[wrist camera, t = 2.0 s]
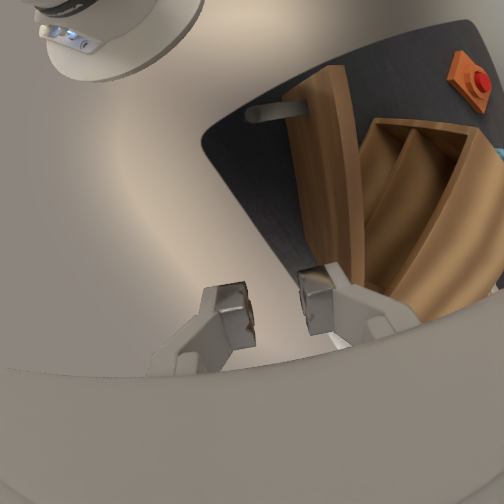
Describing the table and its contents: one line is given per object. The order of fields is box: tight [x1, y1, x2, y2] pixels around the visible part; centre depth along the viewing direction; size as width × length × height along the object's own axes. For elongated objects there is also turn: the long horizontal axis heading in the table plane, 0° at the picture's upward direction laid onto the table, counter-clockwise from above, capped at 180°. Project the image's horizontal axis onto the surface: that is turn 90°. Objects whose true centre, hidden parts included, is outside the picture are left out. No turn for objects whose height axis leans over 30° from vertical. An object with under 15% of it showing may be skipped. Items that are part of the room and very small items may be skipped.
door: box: [243, 65, 365, 287], centre depth 29 cm, size 7×22×22 cm, turn 11°
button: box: [474, 73, 491, 92], centre depth 26 cm, size 4×4×2 cm
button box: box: [446, 50, 492, 114], centre depth 28 cm, size 10×8×4 cm
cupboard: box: [359, 118, 504, 324], centre depth 31 cm, size 16×22×22 cm
